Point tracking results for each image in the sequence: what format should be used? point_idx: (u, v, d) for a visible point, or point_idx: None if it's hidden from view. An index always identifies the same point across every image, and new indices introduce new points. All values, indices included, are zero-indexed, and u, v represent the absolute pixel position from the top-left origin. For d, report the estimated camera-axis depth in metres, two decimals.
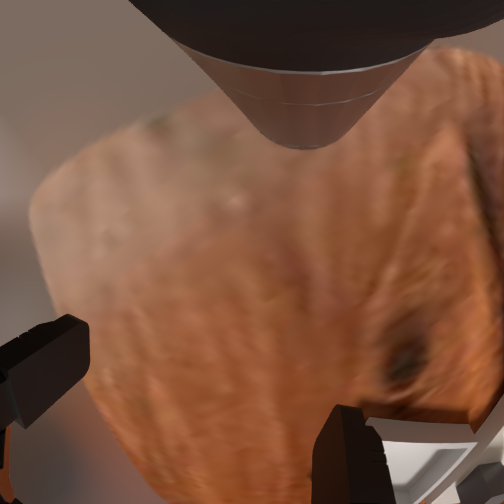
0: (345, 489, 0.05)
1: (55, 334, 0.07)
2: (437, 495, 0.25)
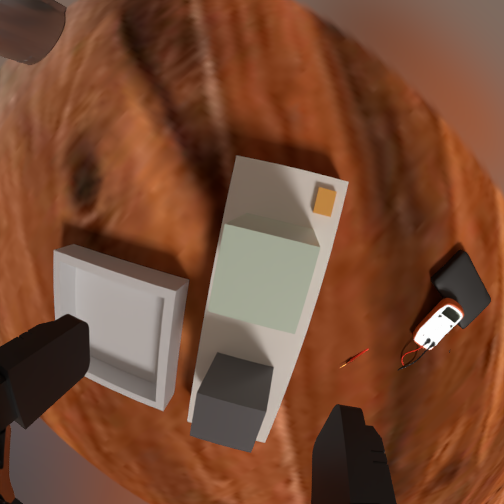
0: (345, 489, 0.05)
1: (55, 334, 0.07)
2: None
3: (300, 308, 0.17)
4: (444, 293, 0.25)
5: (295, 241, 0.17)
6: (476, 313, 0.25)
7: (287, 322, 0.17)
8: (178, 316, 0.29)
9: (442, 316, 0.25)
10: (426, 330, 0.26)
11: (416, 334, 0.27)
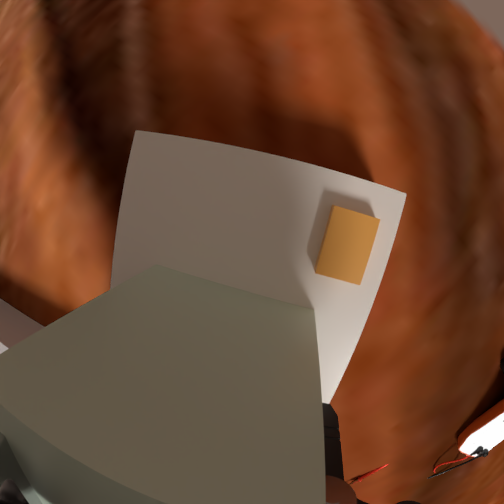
0: None
1: None
2: None
3: None
4: None
5: None
6: None
7: None
8: None
9: None
10: (480, 438, 0.12)
11: (464, 442, 0.13)
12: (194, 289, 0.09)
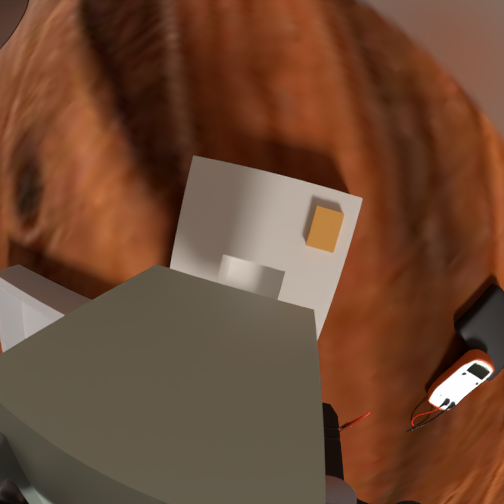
0: None
1: None
2: None
3: None
4: (470, 344, 0.17)
5: None
6: None
7: None
8: None
9: (467, 373, 0.17)
10: (445, 390, 0.18)
11: (432, 394, 0.19)
12: (194, 289, 0.09)
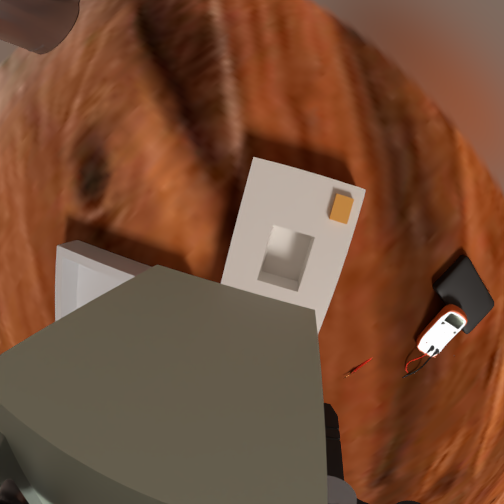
0: None
1: None
2: None
3: None
4: (446, 300, 0.25)
5: None
6: (479, 317, 0.24)
7: None
8: None
9: (445, 323, 0.24)
10: (429, 337, 0.25)
11: (419, 342, 0.26)
12: (195, 289, 0.09)
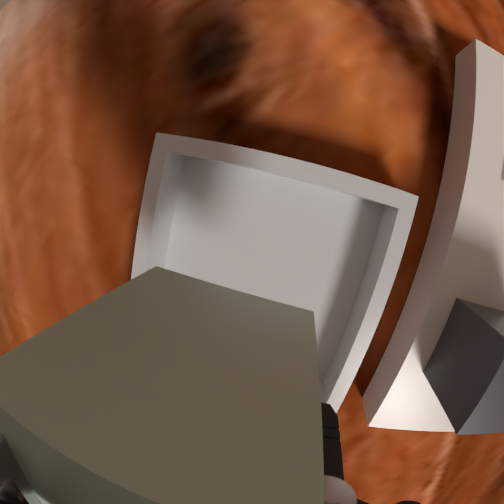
0: None
1: None
2: (385, 392, 0.18)
3: None
4: None
5: None
6: None
7: None
8: None
9: None
10: None
11: None
12: (194, 291, 0.09)
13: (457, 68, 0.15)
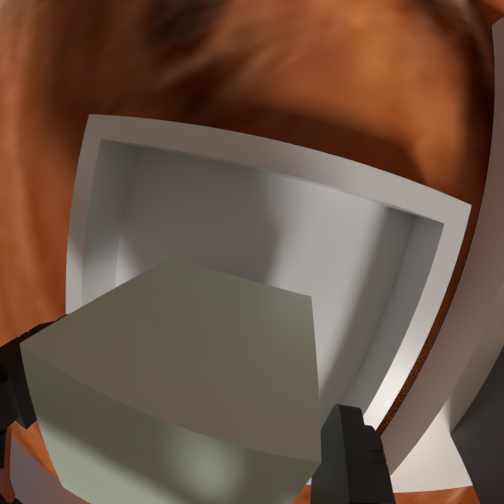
0: (344, 489, 0.05)
1: None
2: (400, 457, 0.12)
3: None
4: None
5: (228, 441, 0.04)
6: None
7: None
8: None
9: None
10: None
11: None
12: (206, 278, 0.10)
13: (496, 40, 0.09)
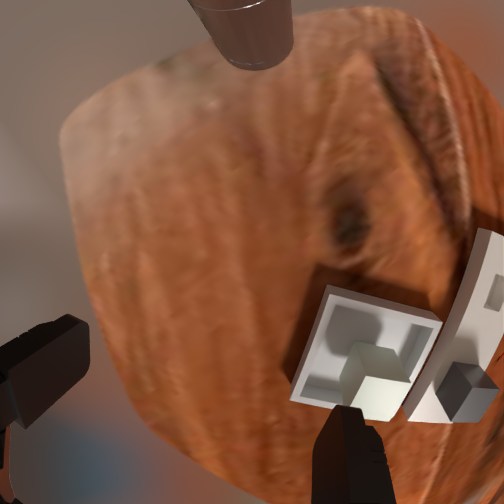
0: (345, 489, 0.05)
1: (55, 334, 0.07)
2: (417, 403, 0.34)
3: (394, 410, 0.26)
4: None
5: (400, 381, 0.26)
6: None
7: (386, 416, 0.27)
8: None
9: None
10: None
11: None
12: (369, 348, 0.32)
13: (476, 238, 0.31)
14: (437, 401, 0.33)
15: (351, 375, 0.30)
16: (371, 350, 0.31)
